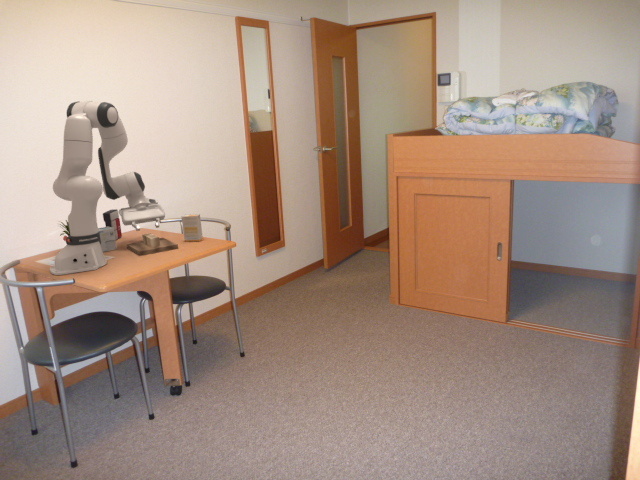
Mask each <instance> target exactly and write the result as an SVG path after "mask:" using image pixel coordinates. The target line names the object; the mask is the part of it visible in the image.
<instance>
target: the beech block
mask: <svg viewBox="0 0 640 480" xmlns="http://www.w3.org/2000/svg"><path fill="white" fill-rule="evenodd" d="M159 238H160V236H157V235H155V234H153V233H145V234H142V241H143V243H145V244H147V245H149V246H151V247H155V246H160V240H159Z"/></svg>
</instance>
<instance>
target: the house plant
mask: <svg viewBox="0 0 640 480" xmlns="http://www.w3.org/2000/svg"><path fill="white" fill-rule="evenodd" d="M58 222H59V223H58V226H60V228H61V229H64V230H62V233H60V235H59V237H60V236H61V237H62V236H67V237H68V236H69V235H70V230H69V223H68V219H65V222H66V224H65V223H63V222H62V221H61V220H58ZM60 223H61V224H60ZM64 234H65V235H64Z"/></svg>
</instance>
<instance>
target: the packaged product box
mask: <svg viewBox="0 0 640 480" xmlns="http://www.w3.org/2000/svg"><path fill="white" fill-rule="evenodd" d="M102 218H103V222H104V225H105V227H107V226H109V227H113V228H114V234H115V240H118V239H120V238H122V237H123V234H122V227H121V226H122V225H121V220H120V214H119V209H118V208H116V209H110V210H107V211H105V212H103V213H102Z"/></svg>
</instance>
